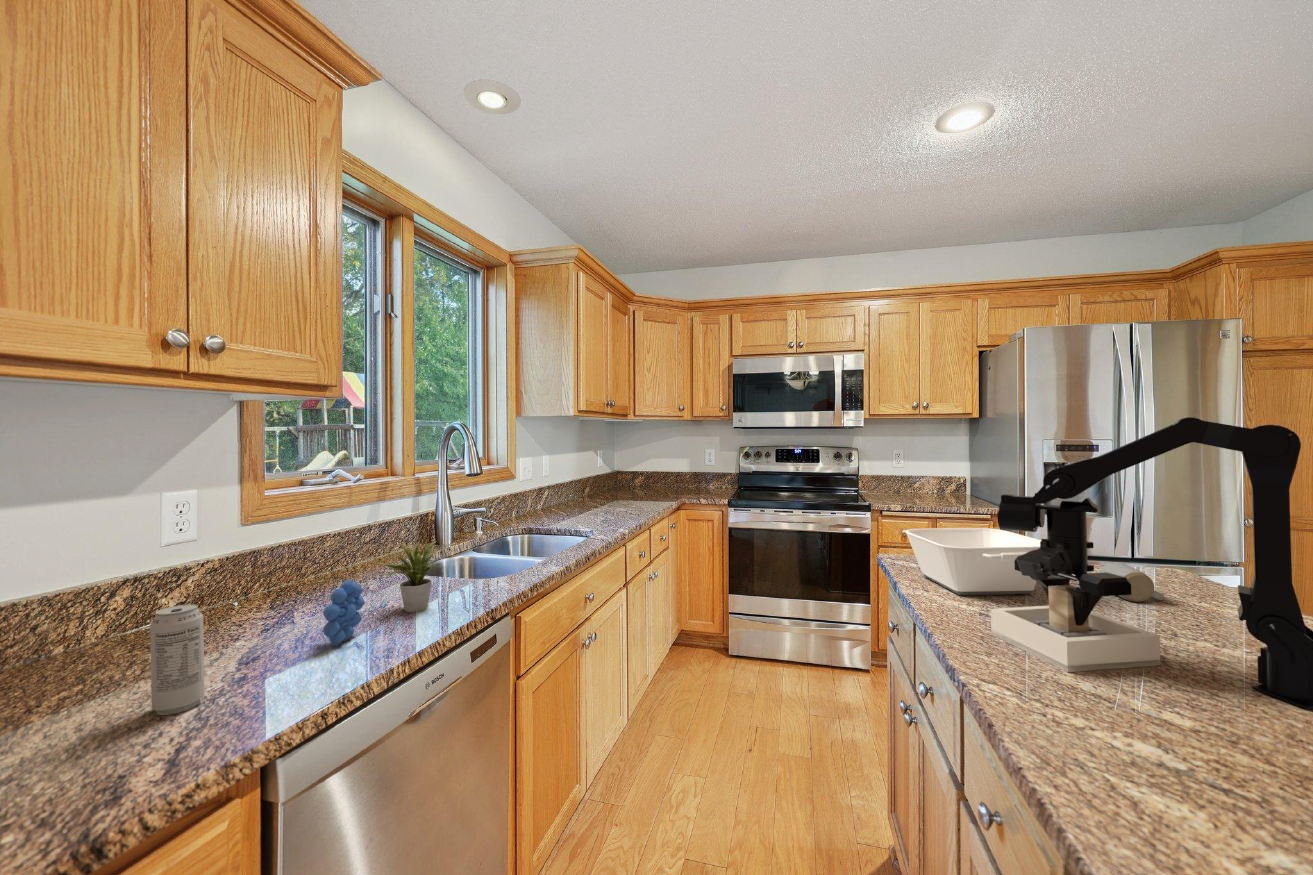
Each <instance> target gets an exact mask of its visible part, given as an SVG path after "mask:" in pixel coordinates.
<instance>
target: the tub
mask: <svg viewBox="0 0 1313 875" xmlns="http://www.w3.org/2000/svg"><path fill="white" fill-rule="evenodd" d="M905 534H906V536H907V538H908V541H909V543H910V545H911V549H912V551H913V554H914V556H915V558H916V561H917V563H918V566H919V568H920V571H921V574H922V575H923V577H925V578H926V577H927V578H926V579H928V578H929V579H928V580H930V579H931V580H932V582H933V581H934V583H935V582H936V583H935V584H937V583H938V584H937V585H939V586H941V587H943V588H944V589H946V588H947V589H946V590H948V589H949V591H950V590H951V591H950V592H952V593H954V594H957V595H958V596H1015V594H1025V595H1029V594H1031V593H1033V592H1034V590H1035V587H1036V585H1037V582H1036V581H1035V580H1033V579H1031V577H1030V576H1024V575H1022V573H1021V572H1020V571H1017V570H1015V563H1014V561H1015V559H1016V558H1017V557H1018V556H1021V555H1023V554H1026V553H1028V552H1030V551H1033V550H1037V549H1040V542H1041V541H1042V539H1039V538H1035V537H1034V538H1033V537H1031V536H1026V535H1023V534H1019V533H1015V532H1012V531H1008V530H1005V529H1000V528H999V529H997V528H992V527H991V528H989V527H945V528H943V527H941V528H935V527H933V528H911V529H906V531H905ZM931 580H930V581H931Z"/></svg>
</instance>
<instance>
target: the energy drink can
mask: <svg viewBox="0 0 1313 875" xmlns="http://www.w3.org/2000/svg"><path fill="white" fill-rule="evenodd" d="M198 607H199V605H198V604H194V603H192V604H191V603H189V604H179V605H172V606H169V607H165V608H161V609H160V610H157V611H155V617H154V619H153V620H152V622H151V623H150V627H149V629H150V630H149V631H150V632H149V633H150V675H151V676H150V680H151V681H150V683H151V684H150V686H151V688H150V689H151V691H150V692H151V693H150V694H151V709H152V710H153V711H156V714H157V715H159V716H167V715H168V716H170V715H174V714H180V713H182V712H185V711H188V710H190V709H193V708H194V707H196V706H198V705H199V704H200V703H201V699H203V698H204V696H205V655H204V654H205V652H204V651H205V650H204V648H205V646H204V645H205V643H204V642H205V641H204V614H203V613H202V612H201V611H200V610H199V608H198Z"/></svg>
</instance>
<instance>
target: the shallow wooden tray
mask: <svg viewBox="0 0 1313 875" xmlns="http://www.w3.org/2000/svg"><path fill="white" fill-rule="evenodd" d="M990 619H991V620H990V622H991V624H990V628H991V629H990V630H991V631H990V632H991V635H992V636H994V637H995V638H998V639H999V640H1001V641H1004V642H1006V643H1009V644H1010V645H1012V646H1015V647H1016V648H1019V649H1021V650H1022V651H1024V652H1026V653H1028V654H1030V655H1032V656H1034V657H1035V658H1039V659H1040V660H1042V661H1044V662H1046V661H1047V663H1049V664H1050V663H1051V665H1053V666H1054V665H1055V667H1057V668H1058V667H1059V668H1058V669H1061V670H1062V671H1064V670H1065V672H1067V673H1074V672H1087V671H1102V670H1113V669H1114V670H1116V669H1129V668H1143V667H1157V665H1159V666H1161V640H1160V638H1161V636H1160V634H1157V633H1154V632H1151V631H1148V630H1145V629H1143V628H1140V627H1136V626H1134V625H1132V624H1128V623H1125V622H1122V621H1120V620H1116V619H1114V618H1111V617H1108V616H1105V615H1102V614H1099V613H1096V612H1093V611H1091V613H1090V615H1089V632H1074V633H1066V632H1065V631H1062V630H1060V629H1058V628H1055V627H1053V626H1050V625H1049V605H1037V606H1036V605H1035V606H1020V607H1019V606H1017V607H1004V608H1003V607H1002V608H991V609H990Z"/></svg>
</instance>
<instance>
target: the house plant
mask: <svg viewBox="0 0 1313 875" xmlns="http://www.w3.org/2000/svg"><path fill="white" fill-rule="evenodd" d="M436 542H437V540H436V541H435V540H434V541H432V542H429V543H425V545H424V546H423V547H422V548H421V551H420V553H419V547H420V546H419V545H420V544H419V541H417V543H415V544H416V547H415V549H414V548H410V547H409V546H408V545H406V544H404V543H402V545H403V546H402V545H400V547H401V549H403V550H404V552H405V554H406V555H407V557H408V559H409V561H408V560H406V558H405V557H404V556H402V555H401V554H399V553H397V552H394V551H389V550H385V552H386V553H388V555H392V556H395V557H396V558H397V559H398V560H400V561H401V562H402V563H403V565H401V564H395V563H379V565H381V566H385V569H389V570H392V571H391V572H389V573H388V574H386V577H389V576H390V575H393V574H396V573H397V574H399V576H400V577H402V578H404V579H405V580H404V581H402V582H400V583H399V588H400V593H401V599H402V604H403V609H404V611H405V612H409V613H412V612H413V613H414V612H420V611H424V610H426V609H427V608H428V607H429V602H430V595H431V589H432V583H433V580H432V579H430V578H425V576H426V575H427V574H428V572H429V571H430V570H432V569H434V568H436V567H438V565H434V564H433V562H430V563H429V561H430V560H431V559H432V557H433V555H434V554H436V552H437V549H435V550H434V551H433V548H435V543H436ZM411 550H412V552H411ZM432 551H433V553H431V552H432ZM389 553H393V554H389ZM430 565H432V567H429V566H430ZM386 567H388V568H386ZM440 567H441V568H443V567H442V565H440ZM385 569H384V570H385ZM403 575H404V576H403Z"/></svg>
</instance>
